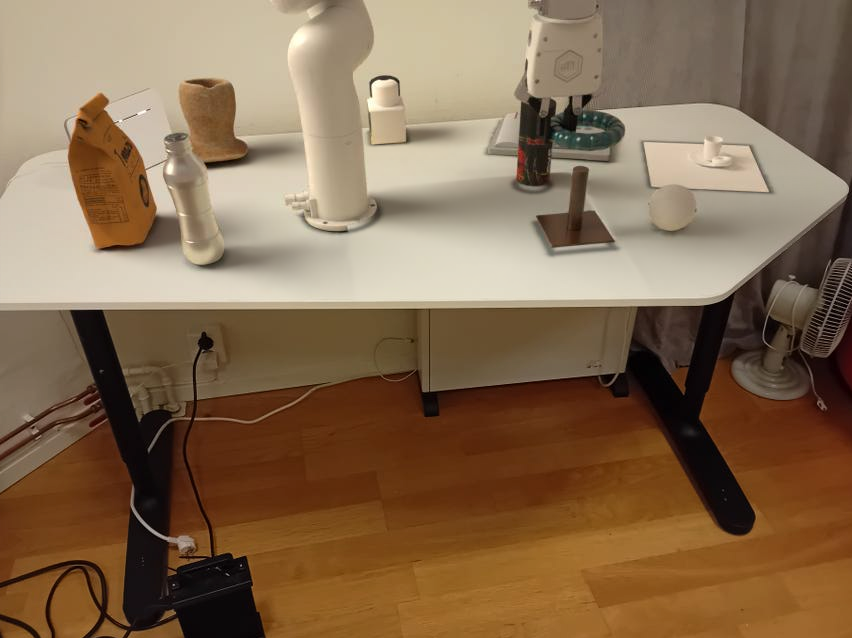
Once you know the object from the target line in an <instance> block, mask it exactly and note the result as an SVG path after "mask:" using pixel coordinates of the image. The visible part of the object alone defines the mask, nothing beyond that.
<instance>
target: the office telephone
mask: <svg viewBox="0 0 852 638" xmlns="http://www.w3.org/2000/svg"><path fill="white" fill-rule="evenodd" d="M557 114H558V113H556V114H555V115H557ZM519 127H520V112H518V111H516V112H510V113H507V114H506V115H503V116H502V118H501V119H500V122H499V124H498V126H497V128H496V130H495V132H494V134H493V137H492V139H491V141H490V143H489V145H488V148H487V153H488V154H489V155H501V156H502V155H503V156H518V144H519ZM576 132H577V133H600V132H604V130H602V129H598V128H594V127H584V126H578V127H576ZM610 155H611V147H610V148H607V149H604V150H596V151H580V150H572V149H568V148H564V147H561V146H559V145H557V144H555V143H553V147H552V158H557V159H558V158H559V159H574V160H587V161H588V160H590V161H607V162H608V161H609V160H610Z"/></svg>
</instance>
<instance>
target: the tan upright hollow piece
mask: <svg viewBox="0 0 852 638" xmlns="http://www.w3.org/2000/svg"><path fill="white" fill-rule="evenodd" d="M235 92H236V91H235V88H234V86H233V84H232V82H230V81H229V80H227V79H225V78H219V77H201V78H200V77H199V78H190V79H185V80H182V81H180V83H179V87H178V101H179V105H180V108H181V112H182V114H183V116H184V119H185V121H186V124H187V126H188V130H189V137H190V141H191V144H192V147H193V149H192V152H193V153H195V154H196V155H197V156H198V157H199V158H200V159H201V160H202V161H203V162H204V164H205V163H214V162H215V163H216V162H223V161H230V160H231V161H232V160H236V159H241V158H243V157H245V156H246V155H247V153H248V151H249V146H248V144H247V143H246V141H244V140H242V139H239V138H237V137H236V136H235V135H236V134H235V129H234V125H235V119H236V113H237V102H236V100H237V99H236V93H235ZM168 155H169V154H168V153H167V155H166V158H167V157H168Z"/></svg>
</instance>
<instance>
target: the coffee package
mask: <svg viewBox="0 0 852 638" xmlns="http://www.w3.org/2000/svg"><path fill="white" fill-rule="evenodd" d="M109 103H110V100H109V98H108V97H106V95H104V93H102V92H98V93H97V94H96V95H94V96H93V97H92V98H91V99H90V100H88V101H87V102H86V103H84V104H83V105H82V106H80V107H79V109H78V111H77V115H76V117H75V122H74V123H75V124H74V128H73V131H72V133H71V138H70V141H69V143H68V150H67V151H68V152H67V161H68V167H69V172H70V177H71V181H72V184H73V187H74V191H75V195H76V198H77V202H78V203H79V206H80V208H81V211H82V214H83V217H84V219H85V222H86V224H87V227H88V229H89V232H90V235H91V239H92V240H93V244H94V247H95V248H97V249H104V248H108V247H113V246H134V245H137V244H142V243H144V242H145V240H146V239H147V236H148V234H149V232H150V230H151V228H152V226H153V224H154V221H155V218H156V215H157V211H158V207H157V204H156V202H155V198H154V194H153V192H152V190H151V189H152V188H151V186H150V183H149V179H148V173H147V169H146V167H145V163H144V159H143V157H142V155H141V153H140V151H139V149H138V147H137V146H136V144H135V143H134V142H133V140H132V139H131V138H130V137H129V135H127V134H126V132H124V130H122V129H121V128H120V127H119V126H118V125H116V123H115V122H114V120H113V118H112V117H111V116H110V114H109V113H108V111H107V110H105V108H107V107H108V105H109Z"/></svg>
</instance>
